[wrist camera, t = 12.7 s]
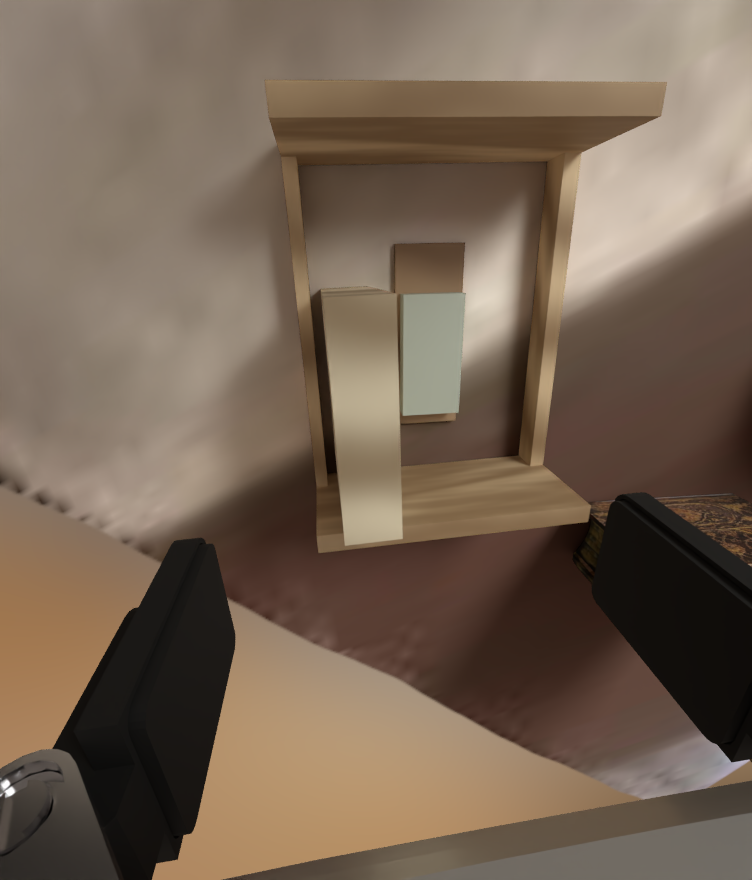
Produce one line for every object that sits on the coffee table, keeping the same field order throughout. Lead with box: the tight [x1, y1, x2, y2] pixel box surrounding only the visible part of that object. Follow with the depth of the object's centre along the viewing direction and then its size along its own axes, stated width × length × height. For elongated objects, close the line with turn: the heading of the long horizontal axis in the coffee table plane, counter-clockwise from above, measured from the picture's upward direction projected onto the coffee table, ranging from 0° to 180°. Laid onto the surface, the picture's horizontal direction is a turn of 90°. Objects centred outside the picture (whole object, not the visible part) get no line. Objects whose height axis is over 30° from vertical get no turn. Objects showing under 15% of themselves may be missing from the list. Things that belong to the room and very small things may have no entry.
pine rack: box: [265, 80, 667, 553], centre depth 25 cm, size 22×17×8 cm
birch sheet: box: [320, 286, 403, 546], centre depth 24 cm, size 12×3×11 cm, turn 3°
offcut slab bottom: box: [394, 243, 465, 424], centre depth 29 cm, size 12×4×1 cm, turn 1°
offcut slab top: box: [400, 292, 466, 416], centre depth 28 cm, size 8×4×1 cm, turn 1°
